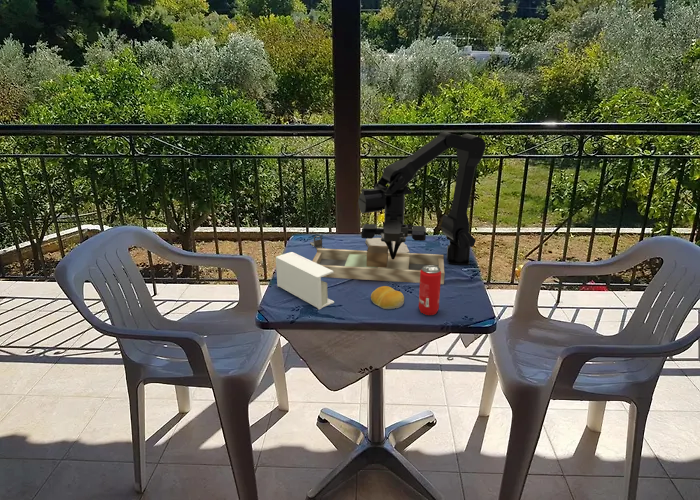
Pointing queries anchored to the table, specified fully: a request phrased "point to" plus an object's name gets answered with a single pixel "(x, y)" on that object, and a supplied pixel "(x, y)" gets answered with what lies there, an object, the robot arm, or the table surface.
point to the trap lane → (398, 269)
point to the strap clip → (317, 243)
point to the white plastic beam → (303, 279)
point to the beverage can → (429, 289)
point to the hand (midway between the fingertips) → (393, 258)
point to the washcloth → (378, 242)
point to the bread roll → (387, 298)
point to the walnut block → (377, 256)
